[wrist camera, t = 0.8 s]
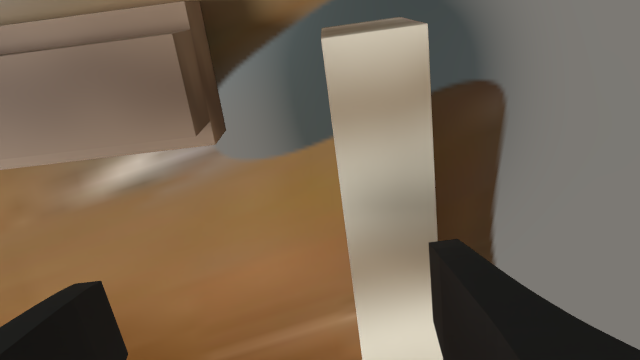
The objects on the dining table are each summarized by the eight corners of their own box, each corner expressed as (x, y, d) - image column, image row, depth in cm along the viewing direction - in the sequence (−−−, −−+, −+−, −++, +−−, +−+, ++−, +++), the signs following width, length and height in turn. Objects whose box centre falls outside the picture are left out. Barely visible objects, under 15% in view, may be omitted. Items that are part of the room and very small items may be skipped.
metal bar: (421, 346, 23) (446, 434, 19) (363, 353, 23) (372, 440, 19) (399, 16, 17) (427, 23, 13) (321, 27, 18) (321, 38, 13)
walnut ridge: (225, 130, 19) (202, 162, 15) (-6, 157, 19) (-85, 195, 16) (199, 0, 17) (164, 1, 13) (-56, 34, 17) (-159, 44, 14)
